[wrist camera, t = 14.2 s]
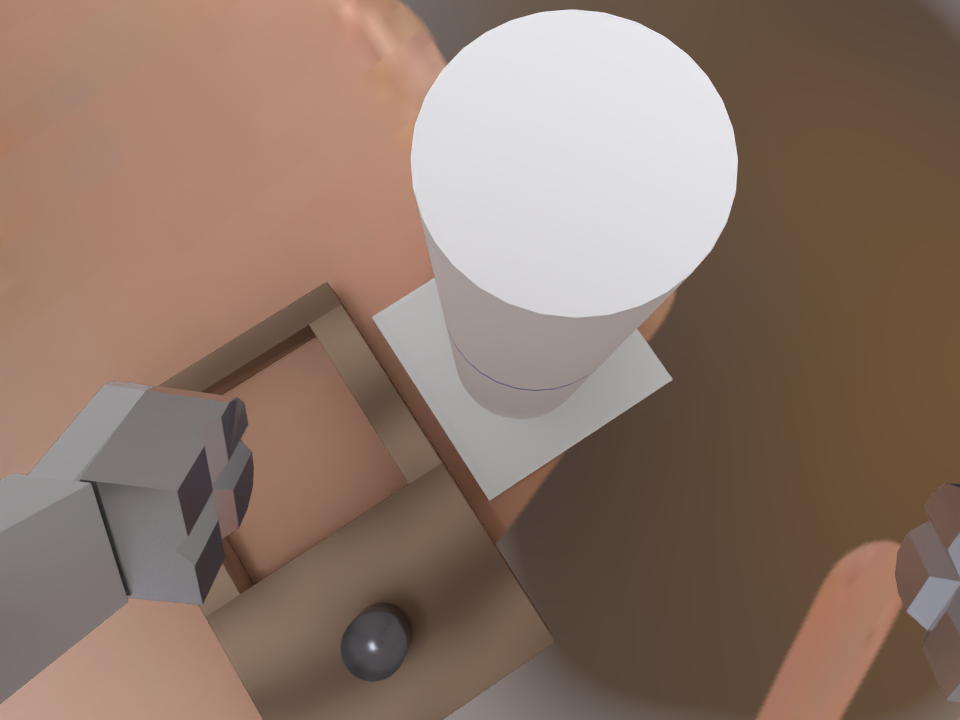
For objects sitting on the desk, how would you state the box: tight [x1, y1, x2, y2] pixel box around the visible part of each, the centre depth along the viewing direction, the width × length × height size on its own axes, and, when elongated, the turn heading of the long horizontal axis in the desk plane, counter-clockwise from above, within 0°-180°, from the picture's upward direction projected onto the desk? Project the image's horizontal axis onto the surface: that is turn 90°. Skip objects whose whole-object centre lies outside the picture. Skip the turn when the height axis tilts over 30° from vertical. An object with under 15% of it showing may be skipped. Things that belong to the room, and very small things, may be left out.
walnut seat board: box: [159, 282, 555, 720], centre depth 37 cm, size 22×14×6 cm, turn 33°
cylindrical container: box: [411, 10, 738, 419], centre depth 29 cm, size 7×7×25 cm
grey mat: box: [372, 278, 673, 501], centre depth 41 cm, size 12×12×1 cm
